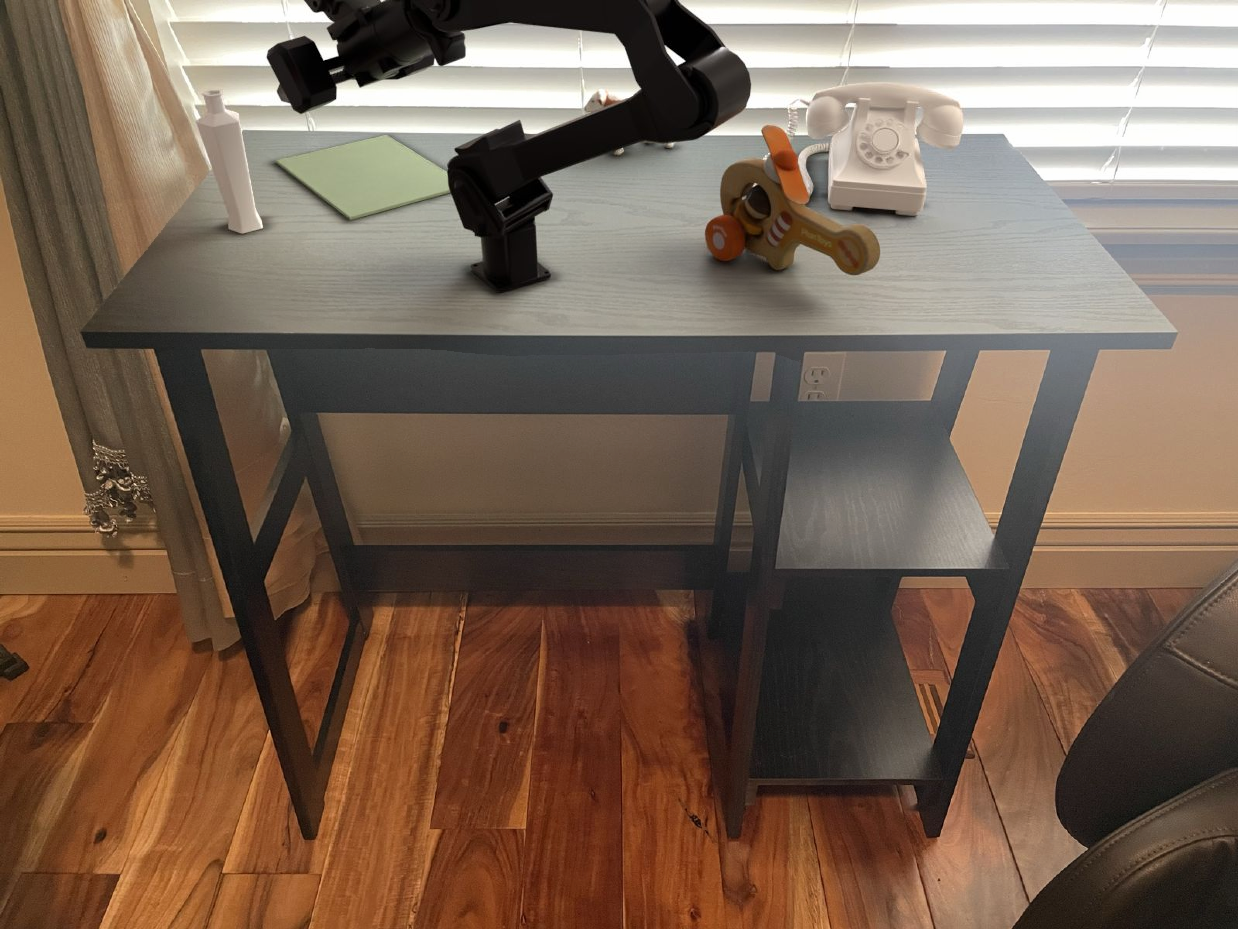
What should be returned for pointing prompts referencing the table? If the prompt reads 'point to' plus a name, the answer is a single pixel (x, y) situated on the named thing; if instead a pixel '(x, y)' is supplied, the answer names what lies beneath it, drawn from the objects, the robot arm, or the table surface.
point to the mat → (368, 176)
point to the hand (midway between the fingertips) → (313, 84)
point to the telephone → (877, 142)
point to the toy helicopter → (781, 215)
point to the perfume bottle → (229, 162)
